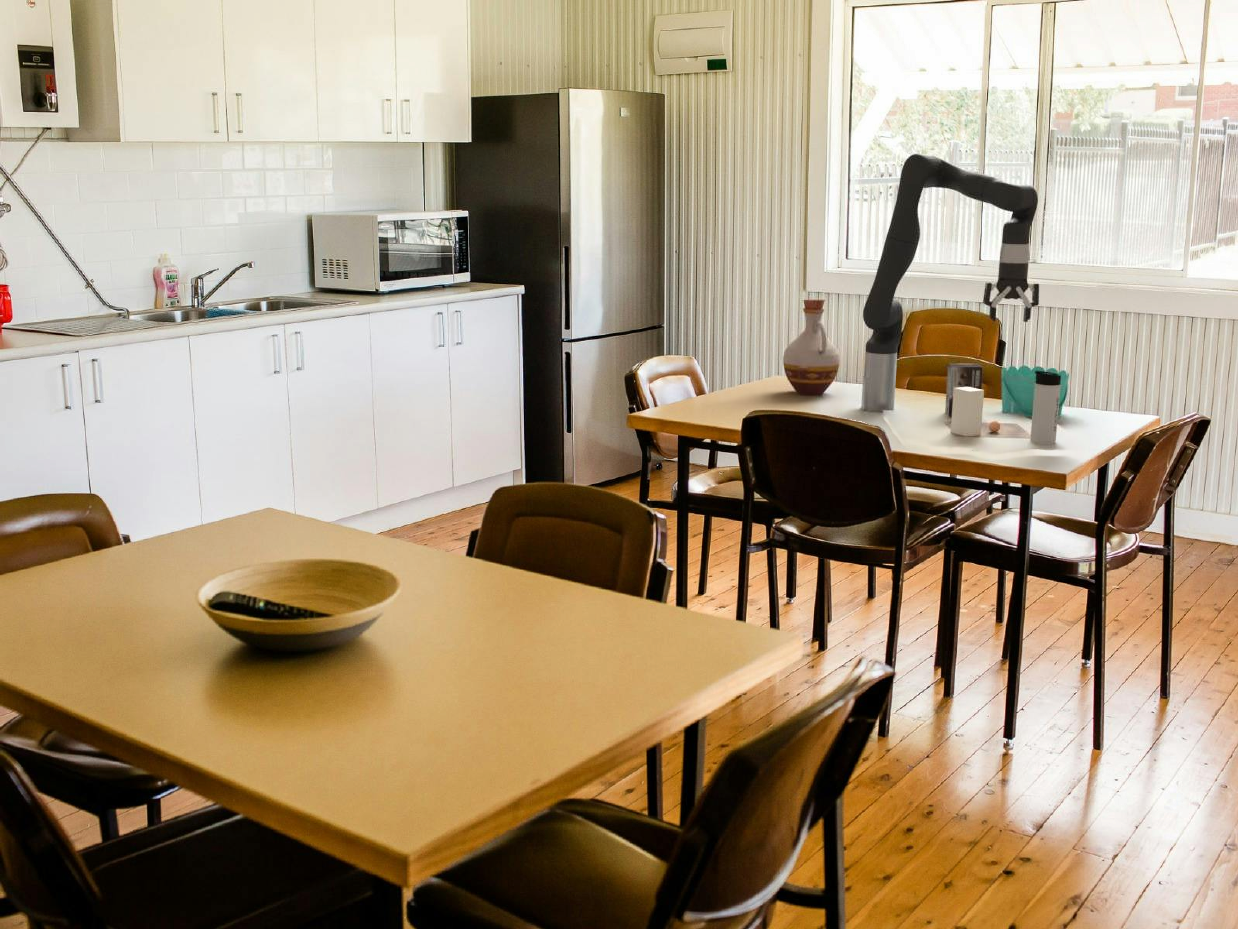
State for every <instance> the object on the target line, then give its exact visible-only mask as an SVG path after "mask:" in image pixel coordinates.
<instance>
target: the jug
mask: <svg viewBox="0 0 1238 929" xmlns="http://www.w3.org/2000/svg"><path fill="white" fill-rule="evenodd" d="M825 301H826V300H825V299H815V298H814V299H803V300H802V302H803V304H804V305H803V306H804V308H802V310H803V313H804V318H805V328H804V330H803V331H802V332H801V333H800V334H799V335H798V336H797V337H796V338H795V339H794V340H793V341H792V342H790V343H789V344H788V345H787V347H786V348H785V349H784V353H783V356H782V362H783V363H782V364H783V369H784V373H785V376H786V379H787V380H788V382H789V383H790V385H791V386H792V388H793V389H794V391H795V392H796V393H797V394H798V395H801V396H821V395H823V394H824V393H825V392H826V391H827V389H829V388H830V386H831V385H832V383H833V382H834V381H835V378H836V376H837V374H838V372H839V368H840V363H841V356H840V352H839V350H838V347H836V345H835V344H833V342H832V341H831V340H830V339H829V338H828V337H827V332H826V329H825V328H826V327H825V326H824V323H823V322H822V317H823V314H824V312H825V308H824V304H825Z"/></svg>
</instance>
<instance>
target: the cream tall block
mask: <svg viewBox="0 0 1238 929" xmlns="http://www.w3.org/2000/svg"><path fill="white" fill-rule="evenodd" d="M984 394H985V390H984V389H982V390H981V389H977V388H972V387H959V388H954V392H953V406H952V417H951V421H950V422H951V429H950V433H952V434H954V433H955V434H959V435H963V436H975V435H981V425H982V423H983V411H984V410H983V408H984V397H985V396H984ZM955 434H954V435H955Z"/></svg>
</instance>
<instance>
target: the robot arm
mask: <svg viewBox="0 0 1238 929" xmlns="http://www.w3.org/2000/svg"><path fill="white" fill-rule="evenodd" d="M930 188H938V189H939V188H941V189H949V190H953V191H954V192H955V191H956V192H958V193H960V194H962V195H964V196H965V197H967V198H970V199H973V200H975V201H979V202H982V203H985V204H990V205H992V206H994V207H996V208H998V209H999V210H1003V211H1006V212H1011V218H1010V220H1008V221H1006V222H1005V223H1004V224H1003V226H1002V235H1001V236H1002V238H1001V246H1000V251H999V264H998V274H997V276H998V277H997V281H996V282H990V281H987V282H985V285H984V292H983V299H982V303H983V305H986V306H988V307H989V313H988V314H989V315H988V318H989V319H990V320H991V322H996V321H997V320H996V318H997V306H998V304H999V303H1000V302H1001V301H1002V300H1003V299H1004V300H1011V299H1013V300H1020V301H1021V302H1022V303H1023V305H1024V307H1023V322H1024V323H1028V321H1029V320H1030V319H1031V313H1032V312H1031V311H1032V308H1033V307H1037V306H1039V304H1040V303H1039V302H1040V284H1039V283H1038V282H1033V283H1029V282H1028V276H1029V274H1028V273H1029V262H1030V236H1031V227H1032V224H1033V221H1034V218H1035V214H1036V211H1037V209H1038V208H1037V207H1038V203H1039V198H1038V192H1037V190H1036V189H1035V187H1033V186H1032V185H1031V184H1014V183H1013V184H1012V183H1007V182H1004V181H1003V179H1000V178H998V177H995V176H991V175H988V174H984V173H980V172H976V171H973V170H968V169H965V168H961V167H959V166H957V165H954V164H952V163H950V162H948V161H947V160H944V159H942V158H940V157H939V156H936V155H934V154H926V153H913V154H911V155H910V156H908V157H907V158H906V159H905V161H904V164H903V165H902V169H901V173H900V177H899V184H898V190H897V195H896V201H895V204H894V209H893V212H892V216H891V220H890V223H889V227H888V230H887V233H886V236H885V241H884V245H883V247H882V253H881V256H880V260H879V263H878V266H877V269H876V270H877V271H876V274H875V277H874V281H873V284H872V286H871V289H870V290H869V294H868V297H867V299H866V300H865V303H864V306H863V309H862V310H863V312H862V318H863V322H864V324H865V326H866V327H867V328H868V329H870V330H873V331H872V334H871V336H870V338H868V340H867V341H866V344H865V354H864V356H865V357H864V371H863V377H862V388H861V409H862V410H863V411H869V412H881V413H882V412H884V411H891V412H893V411H894V410H895V399H896V398H895V397H896V396H895V394H896V379H897V378H896V376H897V364H898V363H897V362H898V348H899V345H900V342H901V339H902V331H903V322H904V321H903V320H904V319H903V318H904V312H903V311H904V310H903V307H902V306H903V305H902V304H901V302H900V301H899V300H898V299H897V298H895V295H896V291H897V289H898V285H899V283H900V281H901V280H902V279H903V277H904V276H905V274H906V273H907V271H908V269H909V268H910V266H911V265H912V262H913V261H914V258H915V257H916V256H915V255H916V253H917V249H918V247H919V242H920V238H921V227H920V221H919V220H920V218H919V204H920V200H921V195H922V192H923V189H930ZM995 288H996V290H997V291H998V293H997V294H996V295H995V296H994V298H993V299H992V300H991V295H992V293H991V292H992V291H994V290H995ZM1028 289H1029V291H1030V292H1031V301H1030V300H1029V299H1028V297H1027V295H1026V294H1025V293H1026V291H1027V290H1028Z"/></svg>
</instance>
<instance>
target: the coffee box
mask: <svg viewBox="0 0 1238 929" xmlns="http://www.w3.org/2000/svg"><path fill="white" fill-rule="evenodd" d="M983 370H984V367H983V366H982V365H981V363H973V362H972V363H969V362H968V363H965V362H962V363H959V362H958V363H957V362H954V363H953V362H952V363H951V362H949V363H947V377H946V391H945V393H946V395H945V408H944V414H945V415H946V416H947V417H948V418H952V406H953V392H954V388H959V387H972V388H977V389H981V390H983V389H982V387H983V375H984V374H983V372H984V371H983Z"/></svg>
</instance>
